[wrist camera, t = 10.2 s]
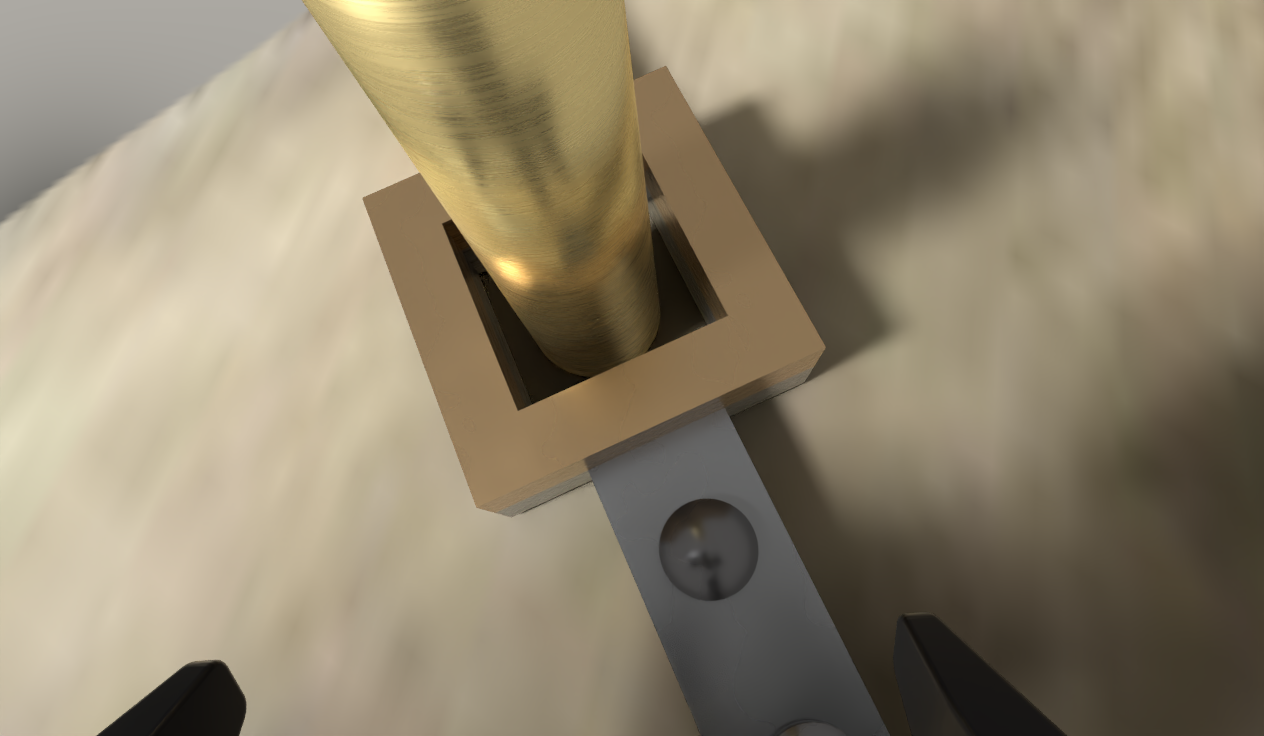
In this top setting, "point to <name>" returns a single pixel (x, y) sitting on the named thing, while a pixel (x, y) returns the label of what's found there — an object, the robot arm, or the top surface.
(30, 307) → the top surface
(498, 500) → the square frame with handle
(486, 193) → the brass pin
